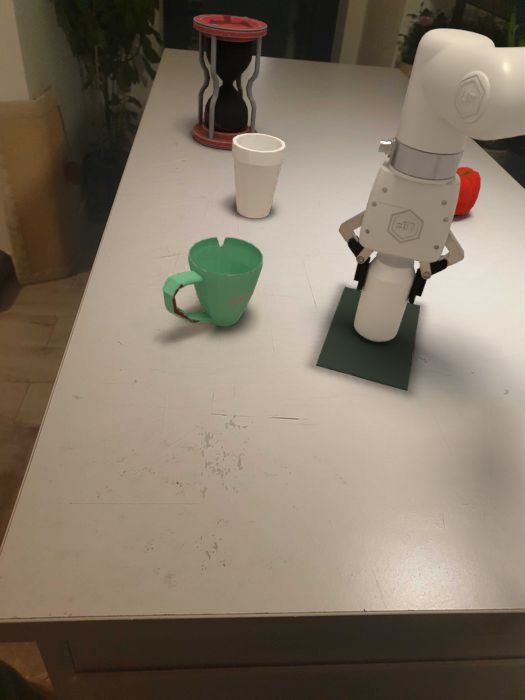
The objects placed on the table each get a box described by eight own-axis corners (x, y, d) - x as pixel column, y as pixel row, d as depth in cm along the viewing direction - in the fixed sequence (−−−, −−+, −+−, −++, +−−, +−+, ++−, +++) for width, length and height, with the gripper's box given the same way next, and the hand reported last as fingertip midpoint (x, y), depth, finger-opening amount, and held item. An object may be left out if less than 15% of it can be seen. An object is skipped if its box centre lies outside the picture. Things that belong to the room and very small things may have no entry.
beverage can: (345, 321, 76) (363, 248, 68) (382, 316, 78) (404, 244, 70) (364, 348, 72) (385, 273, 64) (403, 342, 74) (429, 269, 66)
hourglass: (268, 136, 134) (279, 23, 118) (239, 155, 122) (247, 32, 106) (212, 122, 138) (216, 11, 122) (179, 139, 127) (178, 18, 111)
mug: (225, 288, 80) (229, 229, 74) (271, 319, 75) (279, 259, 69) (145, 324, 72) (141, 261, 65) (190, 362, 67) (190, 298, 60)
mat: (407, 390, 67) (407, 389, 67) (316, 365, 69) (316, 364, 69) (419, 306, 82) (420, 305, 82) (344, 287, 84) (344, 286, 84)
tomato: (412, 213, 107) (425, 170, 101) (426, 193, 116) (439, 152, 110) (464, 229, 104) (480, 185, 98) (475, 207, 112) (491, 166, 107)
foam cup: (279, 204, 105) (288, 137, 96) (274, 225, 98) (283, 155, 89) (232, 197, 105) (236, 130, 97) (224, 217, 98) (228, 147, 90)
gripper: (342, 154, 58) (317, 290, 69) (505, 187, 55) (449, 324, 66) (354, 134, 63) (328, 263, 75) (502, 163, 60) (451, 293, 72)
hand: (386, 290), depth 70 cm, fingers closed on beverage can, 6 cm apart
